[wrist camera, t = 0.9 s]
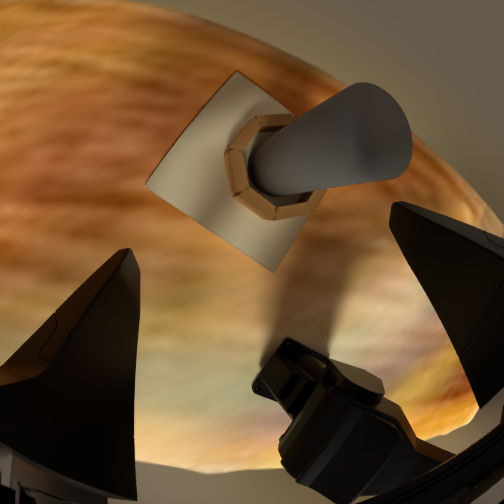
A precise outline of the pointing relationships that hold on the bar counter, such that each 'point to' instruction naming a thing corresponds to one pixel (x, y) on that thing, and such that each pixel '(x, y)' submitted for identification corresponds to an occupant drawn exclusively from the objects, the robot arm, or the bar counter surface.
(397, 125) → the dark grey cylinder
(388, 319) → the bar counter surface
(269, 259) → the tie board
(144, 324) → the bar counter surface
